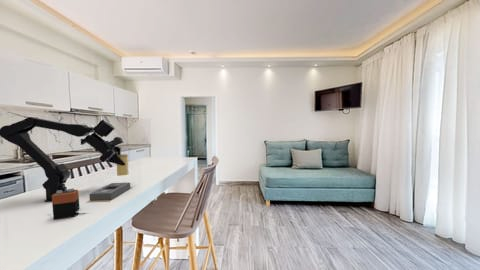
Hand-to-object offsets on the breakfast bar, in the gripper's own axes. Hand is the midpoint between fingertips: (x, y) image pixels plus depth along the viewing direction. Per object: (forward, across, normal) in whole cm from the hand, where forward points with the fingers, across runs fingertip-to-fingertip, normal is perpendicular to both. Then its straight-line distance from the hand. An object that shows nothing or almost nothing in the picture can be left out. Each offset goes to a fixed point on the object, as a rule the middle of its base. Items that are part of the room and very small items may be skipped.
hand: (125, 164), depth 106 cm
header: (+6, -8, +13) cm, 17 cm away
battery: (-1, -25, +21) cm, 33 cm away
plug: (+3, 0, +5) cm, 5 cm away
